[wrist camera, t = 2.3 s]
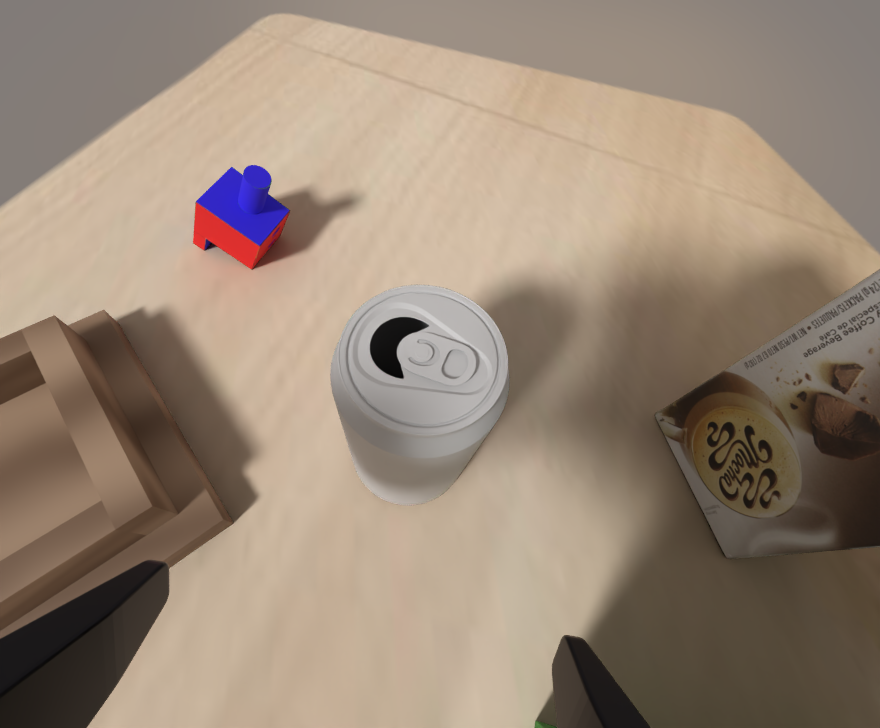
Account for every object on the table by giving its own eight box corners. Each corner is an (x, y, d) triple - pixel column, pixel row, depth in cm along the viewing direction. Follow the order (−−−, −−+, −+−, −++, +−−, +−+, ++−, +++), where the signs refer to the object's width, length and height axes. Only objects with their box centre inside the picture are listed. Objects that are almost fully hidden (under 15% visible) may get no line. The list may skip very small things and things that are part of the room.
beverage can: (382, 385, 26) (376, 250, 15) (477, 423, 25) (540, 312, 15) (333, 480, 23) (284, 396, 12) (440, 526, 22) (485, 480, 12)
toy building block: (248, 279, 30) (267, 223, 24) (192, 242, 29) (196, 172, 22) (275, 246, 32) (300, 185, 25) (223, 210, 30) (236, 136, 24)
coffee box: (812, 533, 24) (1403, 471, 10) (722, 561, 23) (1255, 534, 9) (730, 394, 28) (1074, 208, 14) (649, 411, 27) (938, 225, 13)
